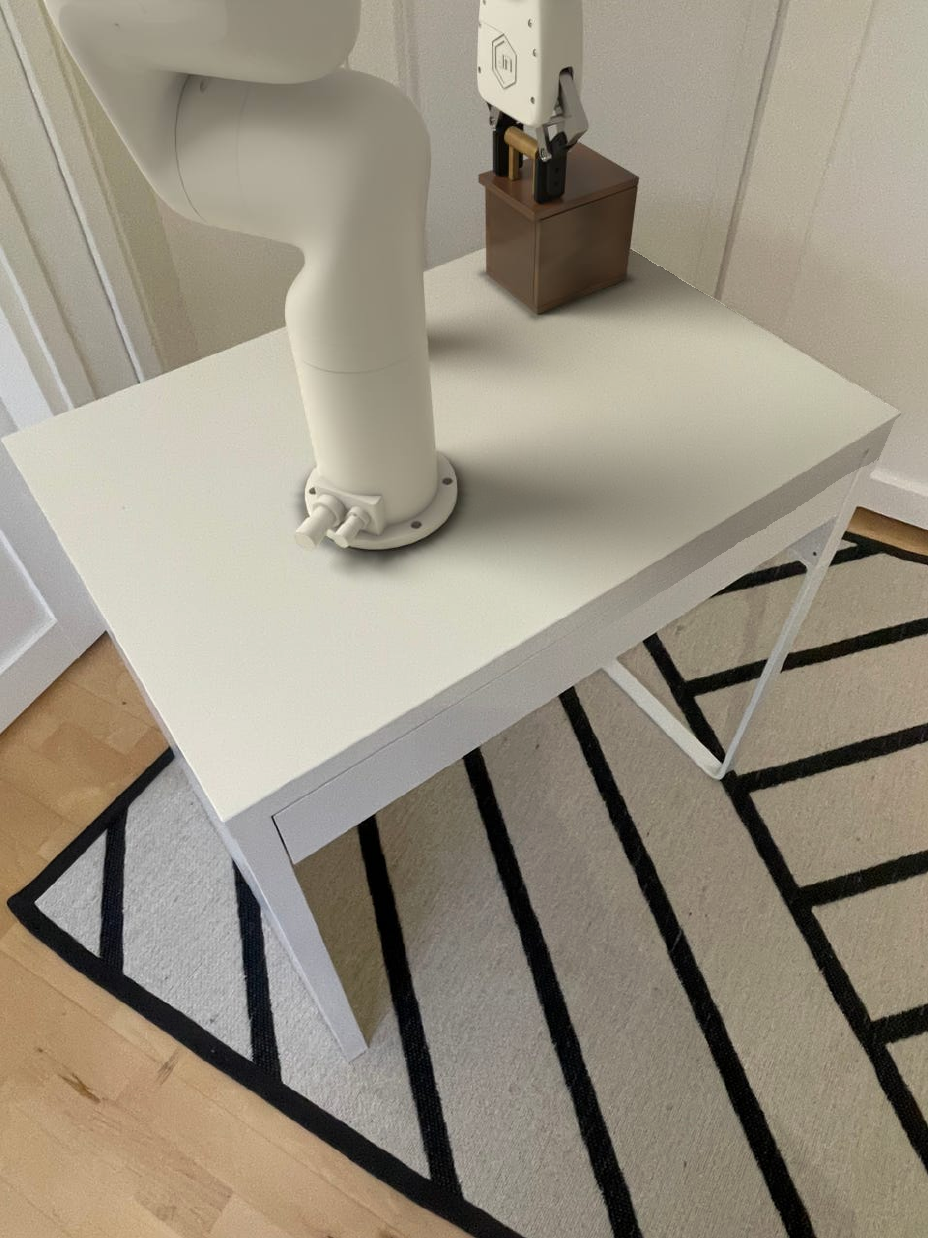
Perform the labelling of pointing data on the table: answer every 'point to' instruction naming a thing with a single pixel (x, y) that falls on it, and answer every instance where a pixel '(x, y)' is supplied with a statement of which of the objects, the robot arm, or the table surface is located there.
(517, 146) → the lid
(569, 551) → the table surface
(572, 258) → the chest
